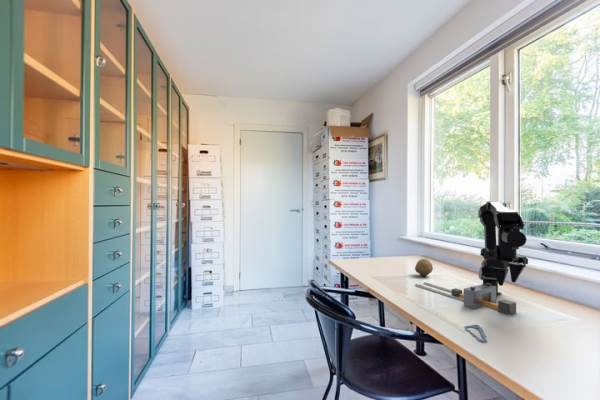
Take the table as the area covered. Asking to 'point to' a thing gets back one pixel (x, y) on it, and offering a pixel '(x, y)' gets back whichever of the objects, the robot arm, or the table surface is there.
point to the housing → (470, 294)
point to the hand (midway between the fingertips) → (507, 283)
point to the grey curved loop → (480, 332)
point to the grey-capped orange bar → (502, 305)
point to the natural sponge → (424, 267)
